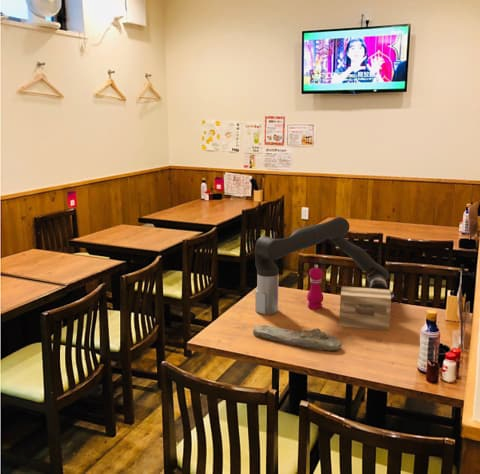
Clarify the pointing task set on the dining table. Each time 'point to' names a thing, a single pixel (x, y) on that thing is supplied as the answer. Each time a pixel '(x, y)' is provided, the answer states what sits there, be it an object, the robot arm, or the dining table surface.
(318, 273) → the pepper mill
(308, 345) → the long grey stone
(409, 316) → the dining table surface
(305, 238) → the robot arm
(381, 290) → the wooden crate
